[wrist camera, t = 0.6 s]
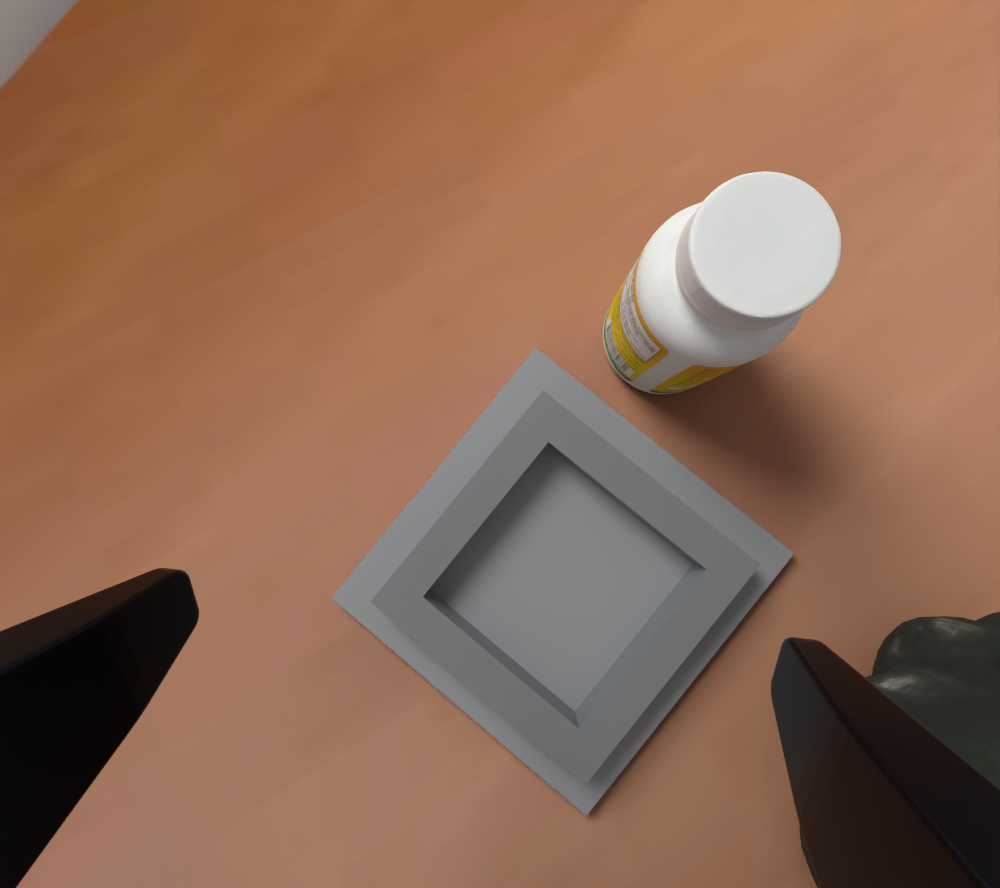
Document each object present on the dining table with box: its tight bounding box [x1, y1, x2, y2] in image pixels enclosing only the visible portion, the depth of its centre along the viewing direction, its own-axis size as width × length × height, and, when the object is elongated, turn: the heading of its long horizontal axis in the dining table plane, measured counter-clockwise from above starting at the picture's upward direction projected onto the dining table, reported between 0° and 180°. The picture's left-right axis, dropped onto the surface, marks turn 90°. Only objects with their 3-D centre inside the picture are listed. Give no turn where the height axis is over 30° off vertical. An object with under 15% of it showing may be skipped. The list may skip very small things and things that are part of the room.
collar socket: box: [332, 348, 794, 816], centre depth 22 cm, size 14×14×2 cm
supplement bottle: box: [603, 172, 841, 395], centre depth 18 cm, size 5×5×10 cm
